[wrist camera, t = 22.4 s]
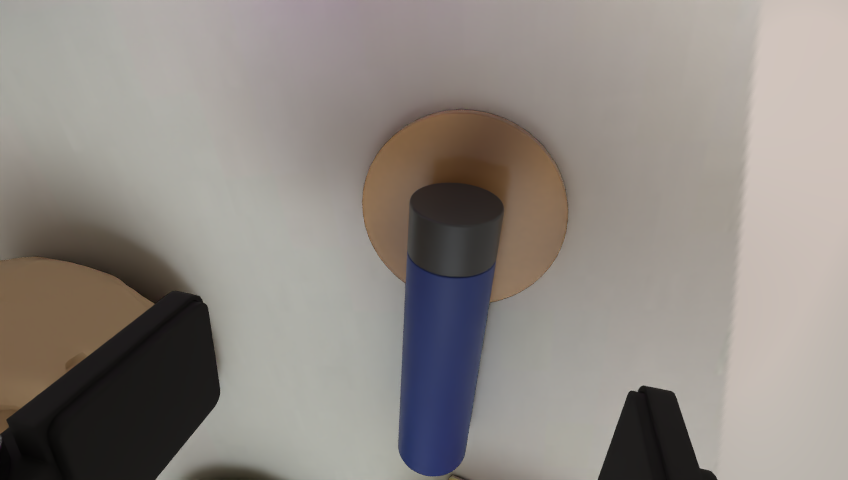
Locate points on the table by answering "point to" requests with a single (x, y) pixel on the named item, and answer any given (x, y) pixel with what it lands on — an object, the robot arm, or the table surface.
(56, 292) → the container
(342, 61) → the table surface
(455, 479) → the candy box
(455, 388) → the marker
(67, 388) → the robot arm
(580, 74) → the table surface
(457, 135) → the coaster
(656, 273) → the table surface
